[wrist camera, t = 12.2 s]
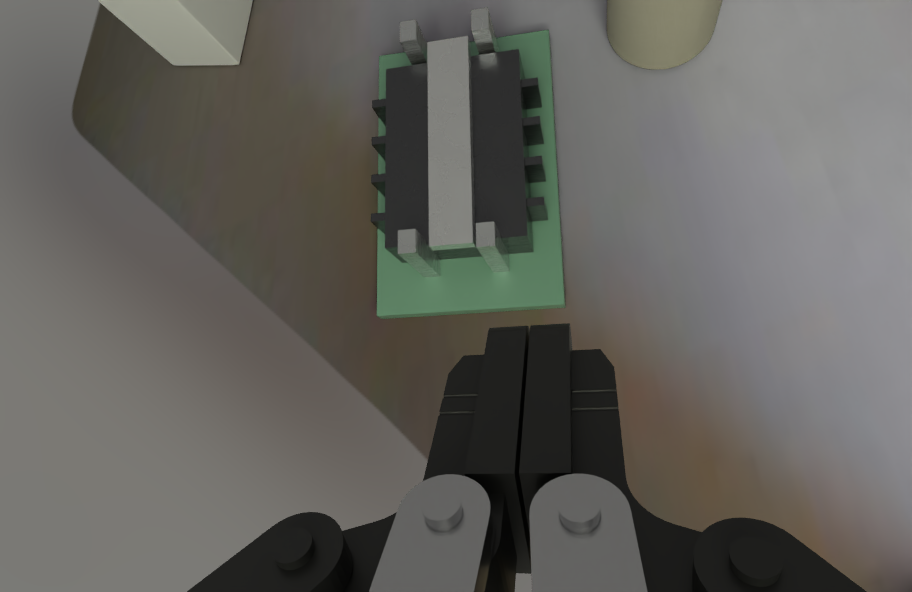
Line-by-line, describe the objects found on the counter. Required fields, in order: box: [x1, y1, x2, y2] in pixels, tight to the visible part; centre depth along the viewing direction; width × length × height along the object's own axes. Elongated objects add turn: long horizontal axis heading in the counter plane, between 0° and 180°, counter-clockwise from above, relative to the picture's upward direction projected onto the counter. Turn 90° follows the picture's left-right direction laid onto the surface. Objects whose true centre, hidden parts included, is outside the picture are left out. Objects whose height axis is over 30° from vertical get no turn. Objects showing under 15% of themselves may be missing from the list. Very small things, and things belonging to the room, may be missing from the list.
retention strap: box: [427, 36, 476, 251], centre depth 43 cm, size 16×3×1 cm, turn 2°
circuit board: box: [377, 30, 565, 319], centre depth 48 cm, size 22×14×1 cm, turn 2°
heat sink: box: [371, 7, 548, 278], centre depth 45 cm, size 17×12×7 cm
